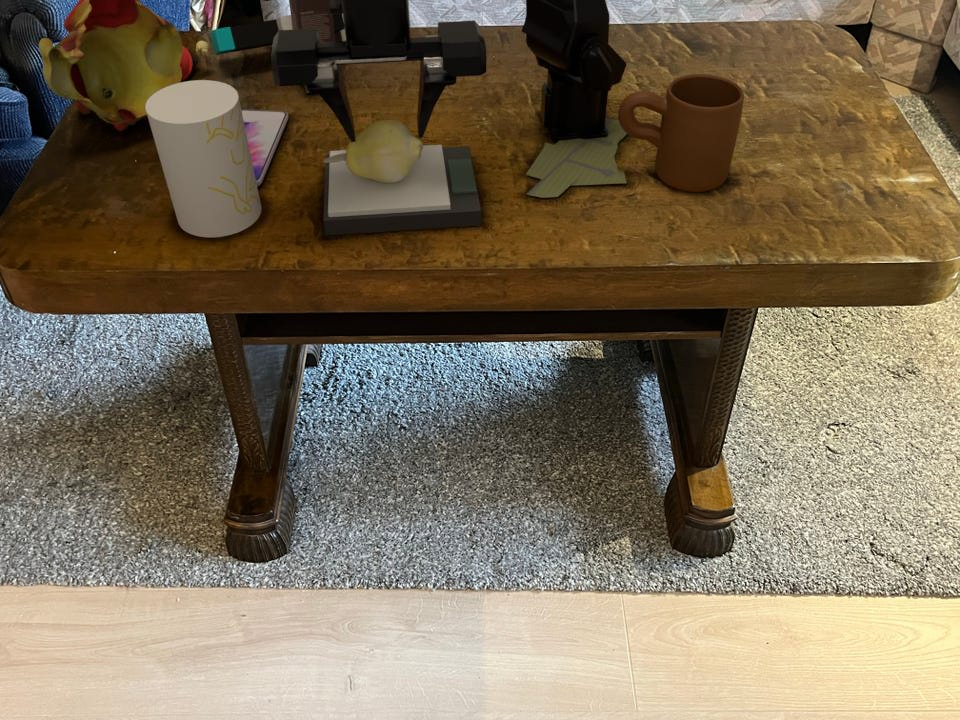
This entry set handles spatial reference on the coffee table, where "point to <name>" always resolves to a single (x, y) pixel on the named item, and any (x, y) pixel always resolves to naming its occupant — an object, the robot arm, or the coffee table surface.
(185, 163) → the cup
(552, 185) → the map
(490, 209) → the coffee table surface
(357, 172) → the fruit
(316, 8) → the box
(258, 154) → the smartphone
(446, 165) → the scale
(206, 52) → the toy figurine
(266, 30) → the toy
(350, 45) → the robot arm
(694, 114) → the mug
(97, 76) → the toy
